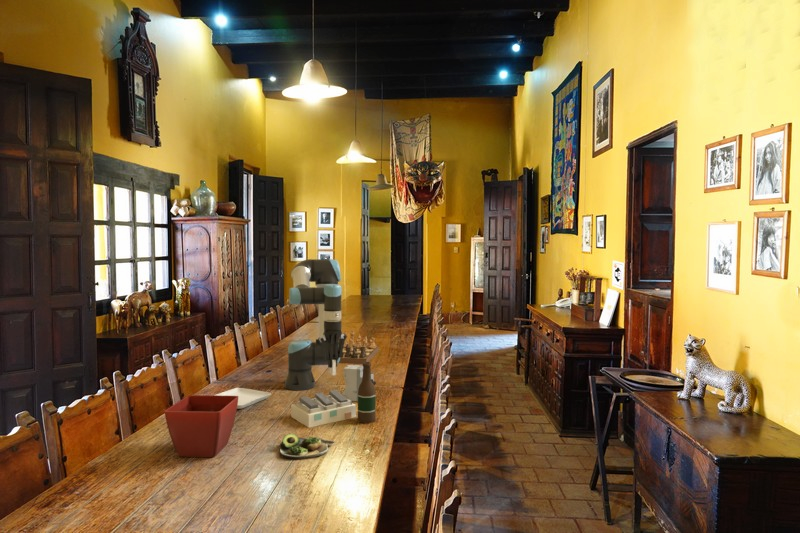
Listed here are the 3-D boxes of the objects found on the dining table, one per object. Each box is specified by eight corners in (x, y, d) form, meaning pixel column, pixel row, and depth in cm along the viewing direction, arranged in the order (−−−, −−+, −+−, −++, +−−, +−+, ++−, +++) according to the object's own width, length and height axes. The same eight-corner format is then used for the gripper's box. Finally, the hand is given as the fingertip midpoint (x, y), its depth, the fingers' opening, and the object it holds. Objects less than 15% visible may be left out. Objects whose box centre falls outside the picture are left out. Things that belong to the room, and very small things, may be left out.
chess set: (321, 349, 360) (321, 327, 359) (378, 351, 354) (378, 329, 353) (302, 362, 320) (302, 338, 320) (366, 364, 315) (366, 340, 314)
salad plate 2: (332, 438, 196) (332, 426, 196) (337, 457, 179) (337, 444, 179) (279, 442, 192) (279, 430, 192) (279, 462, 175) (279, 449, 174)
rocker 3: (329, 394, 226) (329, 390, 226) (335, 392, 228) (335, 389, 228) (340, 404, 218) (341, 401, 218) (347, 403, 220) (347, 399, 220)
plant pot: (188, 439, 193) (188, 394, 193) (239, 440, 193) (239, 395, 192) (163, 461, 174) (163, 411, 174) (220, 462, 174) (219, 412, 173)
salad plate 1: (272, 399, 244) (272, 392, 244) (241, 412, 225) (241, 404, 225) (237, 393, 253) (237, 386, 253) (204, 406, 234) (204, 398, 234)
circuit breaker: (372, 402, 239) (373, 370, 239) (343, 400, 242) (343, 368, 242) (376, 397, 247) (377, 366, 246) (347, 395, 250) (348, 364, 249)
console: (291, 416, 219) (291, 401, 219) (336, 407, 232) (336, 392, 232) (309, 427, 206) (309, 411, 206) (356, 416, 219) (356, 401, 219)
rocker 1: (299, 401, 218) (299, 397, 217) (306, 399, 220) (306, 396, 219) (310, 409, 210) (310, 405, 210) (317, 408, 212) (318, 404, 212)
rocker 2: (314, 396, 222) (315, 393, 222) (321, 395, 224) (321, 392, 223) (326, 407, 214) (326, 404, 214) (332, 406, 216) (333, 402, 216)
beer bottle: (378, 418, 218) (379, 361, 217) (371, 424, 210) (372, 365, 209) (361, 416, 220) (361, 359, 219) (354, 422, 213) (354, 363, 212)
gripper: (323, 322, 218) (323, 378, 219) (350, 320, 226) (350, 374, 227) (315, 320, 224) (315, 375, 225) (341, 318, 232) (341, 370, 233)
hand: (332, 374), depth 226 cm, fingers closed
